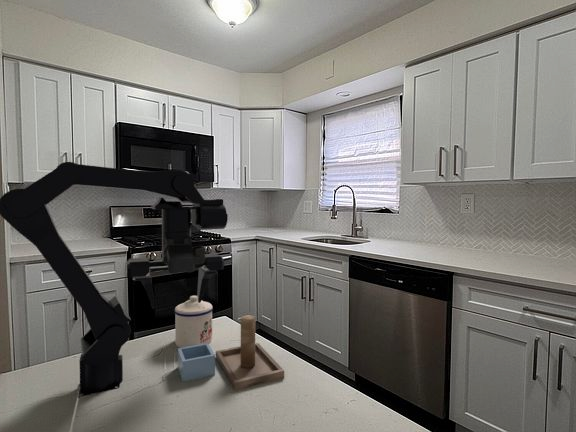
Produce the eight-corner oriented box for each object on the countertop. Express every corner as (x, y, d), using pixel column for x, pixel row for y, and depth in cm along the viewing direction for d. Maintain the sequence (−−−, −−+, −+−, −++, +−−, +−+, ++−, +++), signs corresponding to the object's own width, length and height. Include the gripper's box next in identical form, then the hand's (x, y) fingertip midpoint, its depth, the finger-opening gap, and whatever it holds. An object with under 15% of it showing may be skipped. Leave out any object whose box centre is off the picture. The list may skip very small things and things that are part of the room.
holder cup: (182, 385, 62) (182, 361, 62) (177, 369, 68) (177, 348, 68) (215, 377, 65) (215, 355, 65) (207, 363, 71) (207, 343, 71)
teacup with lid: (207, 352, 76) (207, 302, 76) (168, 351, 76) (168, 301, 76) (219, 331, 88) (219, 288, 88) (185, 331, 88) (185, 288, 88)
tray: (234, 393, 60) (234, 382, 60) (215, 360, 72) (215, 351, 72) (284, 380, 64) (284, 370, 64) (258, 351, 77) (258, 342, 77)
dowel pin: (243, 369, 66) (243, 321, 66) (238, 363, 69) (238, 316, 69) (257, 366, 68) (257, 318, 67) (252, 360, 70) (252, 314, 70)
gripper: (127, 236, 57) (128, 325, 58) (231, 233, 65) (231, 310, 66) (126, 231, 67) (127, 306, 68) (217, 228, 75) (217, 296, 76)
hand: (176, 305), depth 69 cm, fingers open, 9 cm apart
